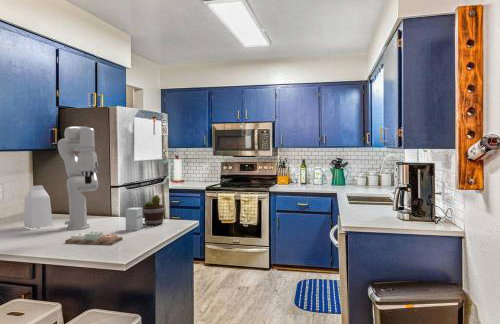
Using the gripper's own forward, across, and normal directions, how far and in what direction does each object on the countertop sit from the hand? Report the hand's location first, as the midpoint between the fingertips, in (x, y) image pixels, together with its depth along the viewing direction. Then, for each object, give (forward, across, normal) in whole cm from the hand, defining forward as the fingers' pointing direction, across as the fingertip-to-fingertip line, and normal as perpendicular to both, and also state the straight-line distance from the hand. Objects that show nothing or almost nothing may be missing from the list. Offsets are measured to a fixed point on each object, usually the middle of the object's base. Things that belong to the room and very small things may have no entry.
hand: (88, 183), depth 196 cm
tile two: (+28, +10, -11) cm, 31 cm away
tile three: (+29, +18, -11) cm, 36 cm away
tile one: (+29, +2, -11) cm, 31 cm away
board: (+29, +10, -11) cm, 33 cm away
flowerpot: (+29, +22, +34) cm, 50 cm away
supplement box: (+29, +17, +18) cm, 38 cm away
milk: (+29, -47, +17) cm, 58 cm away
